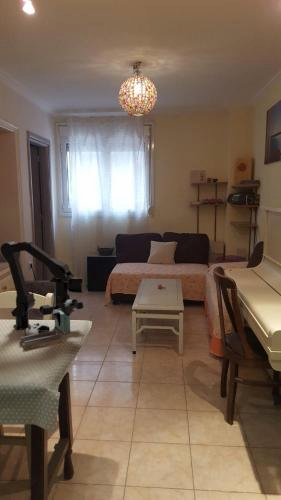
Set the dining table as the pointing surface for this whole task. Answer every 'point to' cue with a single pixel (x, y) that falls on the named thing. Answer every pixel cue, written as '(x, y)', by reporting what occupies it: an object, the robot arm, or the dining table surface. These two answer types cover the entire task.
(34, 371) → the dining table surface
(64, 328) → the door panel
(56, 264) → the robot arm
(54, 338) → the track
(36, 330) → the gaming controller
